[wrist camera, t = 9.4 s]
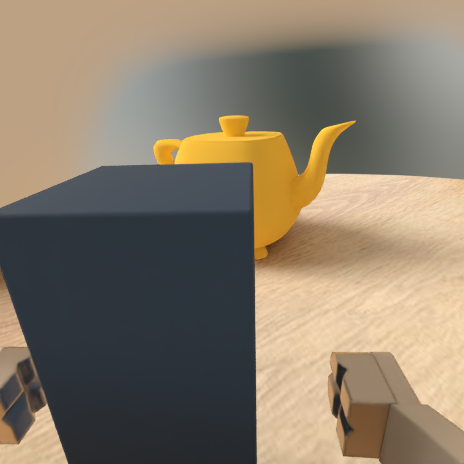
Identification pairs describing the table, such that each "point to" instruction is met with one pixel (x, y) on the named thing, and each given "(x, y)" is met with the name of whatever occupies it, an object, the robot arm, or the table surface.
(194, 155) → the teapot
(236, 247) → the blue rectangular peg
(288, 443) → the table surface
